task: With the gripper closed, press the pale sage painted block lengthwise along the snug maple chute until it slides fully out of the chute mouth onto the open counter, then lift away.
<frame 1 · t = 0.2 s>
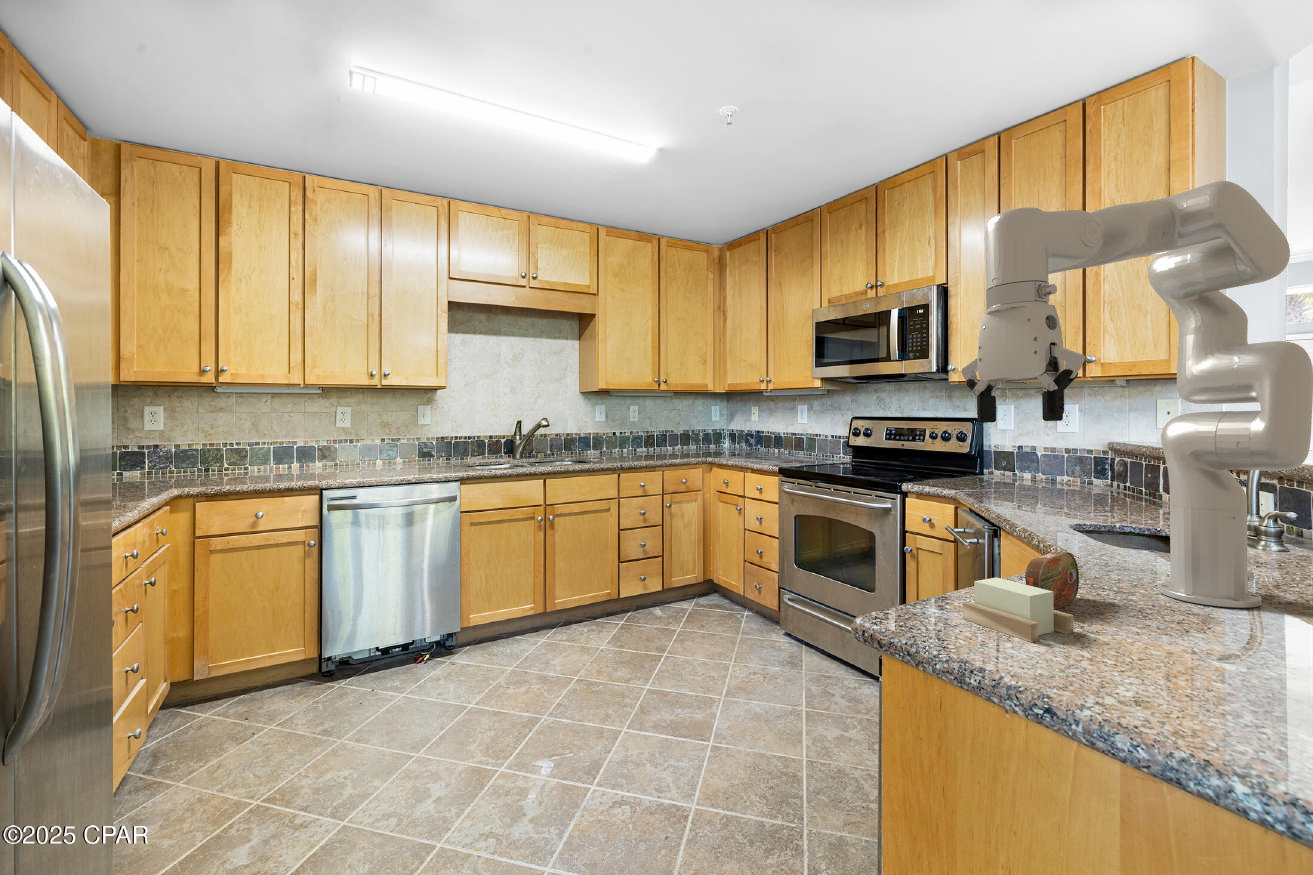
hand: (1018, 421, 82), 31 cm above the worktop, fingers open, 9 cm apart
block: (1012, 625, 88), on the worktop
tin: (1052, 605, 97), on the worktop
chute: (1016, 625, 87), on the worktop
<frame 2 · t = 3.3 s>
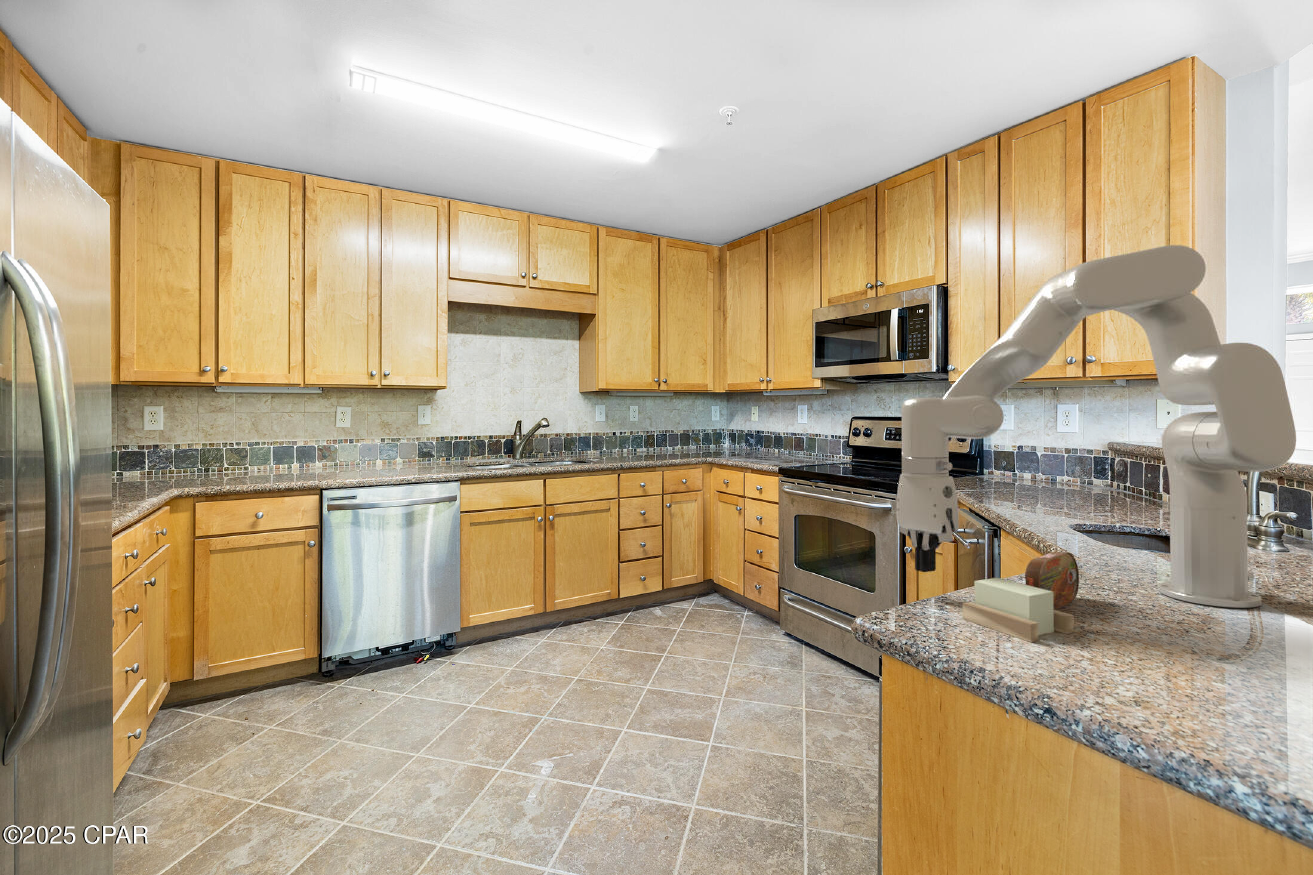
hand: (925, 570, 102), 5 cm above the worktop, fingers closed
nothing on the worktop moved.
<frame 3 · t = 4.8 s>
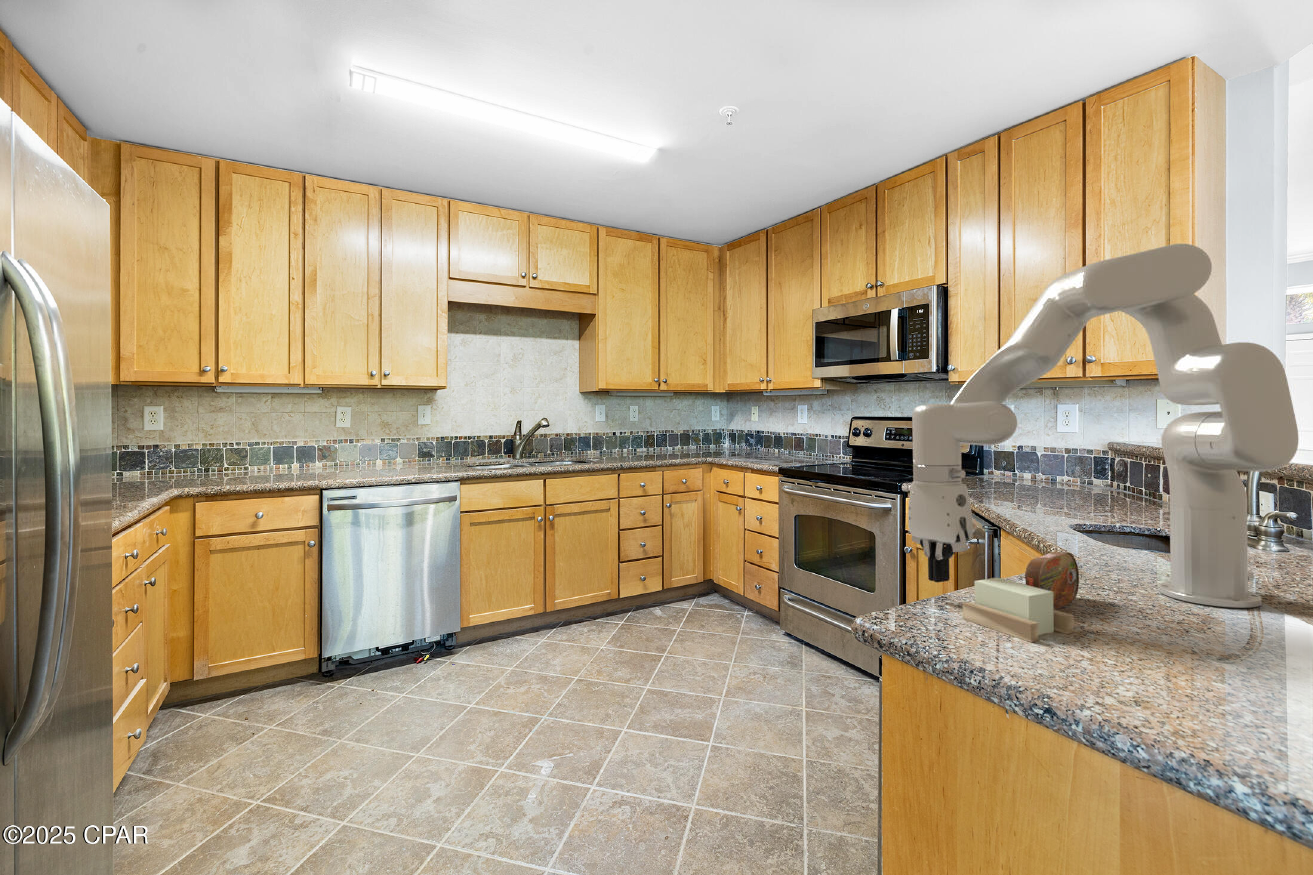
hand: (938, 580, 100), 4 cm above the worktop, fingers closed
nothing on the worktop moved.
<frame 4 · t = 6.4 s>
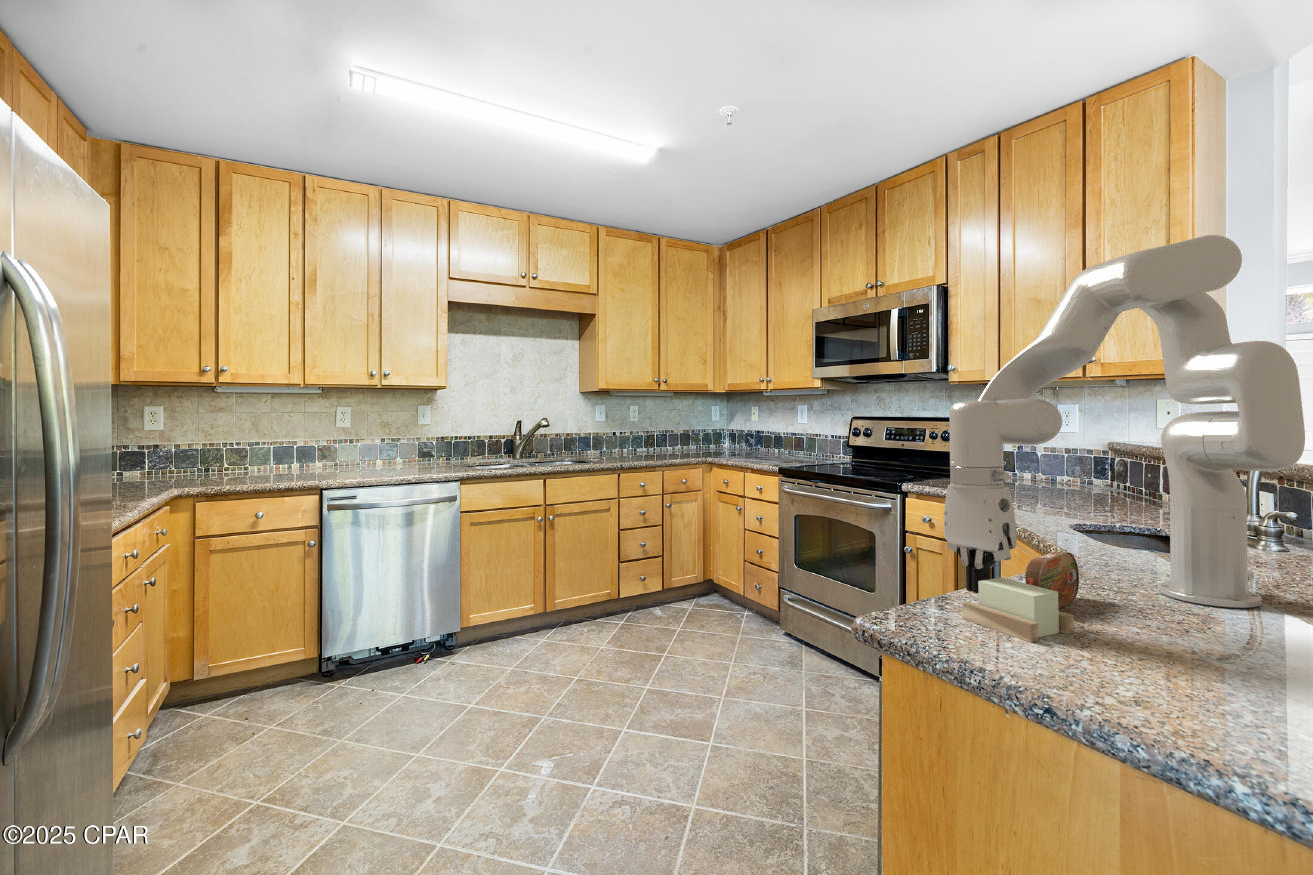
hand: (977, 590, 93), 4 cm above the worktop, fingers closed
block: (1017, 625, 87), on the worktop, touching gripper
everything else where it was.
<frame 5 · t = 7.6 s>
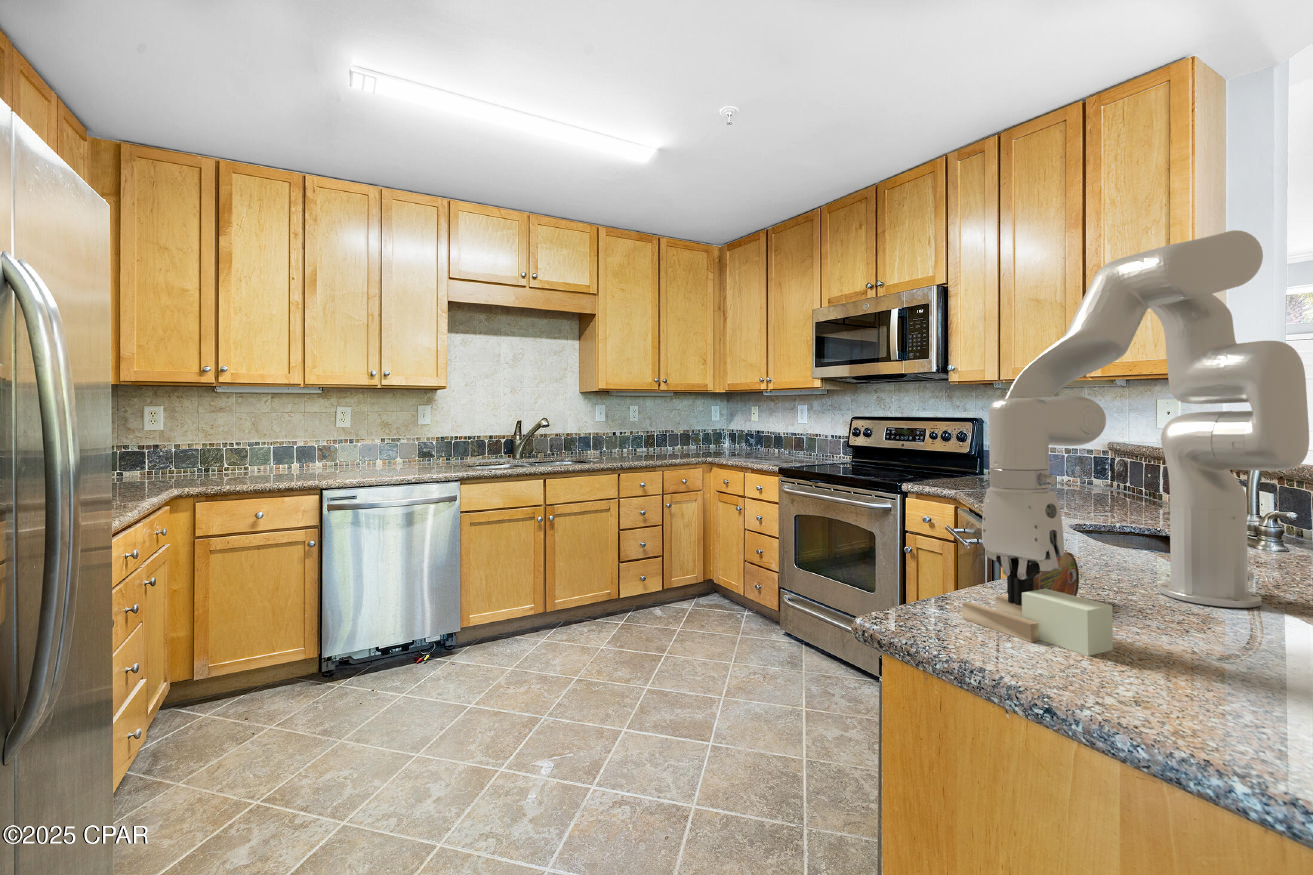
hand: (1020, 602, 86), 4 cm above the worktop, fingers closed
block: (1065, 641, 80), on the worktop, touching gripper
everything else where it was.
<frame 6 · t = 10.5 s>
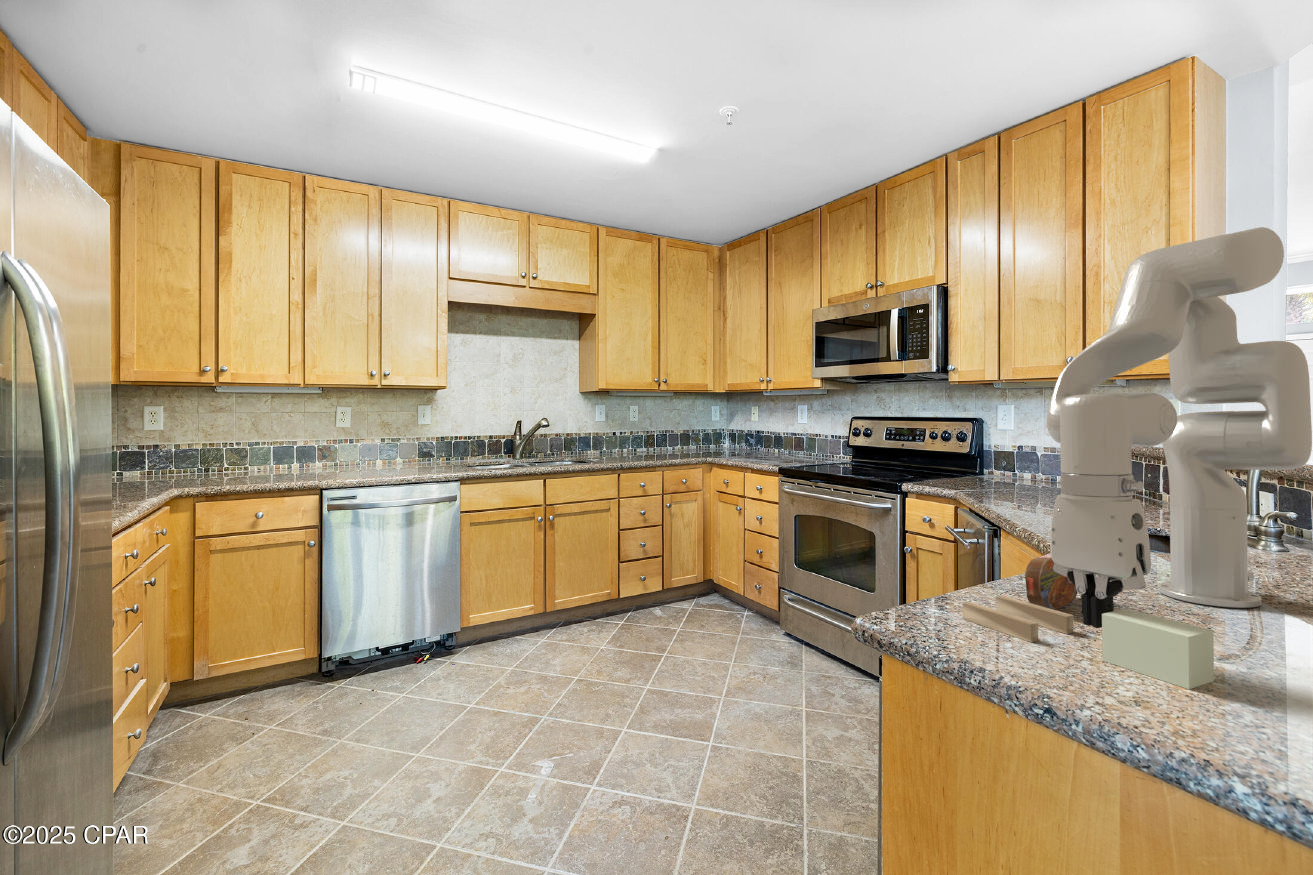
hand: (1097, 624, 76), 4 cm above the worktop, fingers closed
block: (1155, 670, 70), on the worktop, touching gripper
everything else where it was.
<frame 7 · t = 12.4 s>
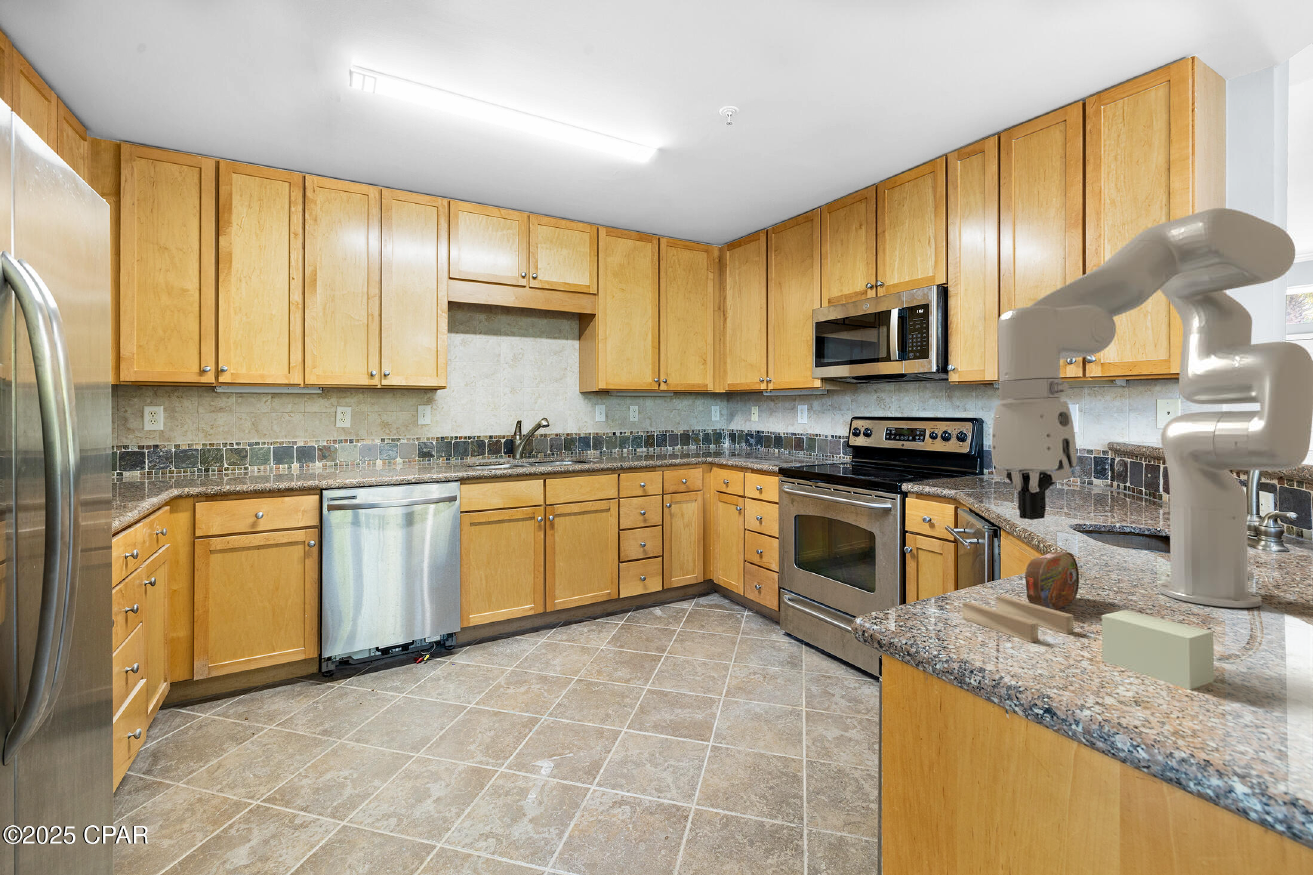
hand: (1032, 518, 85), 17 cm above the worktop, fingers closed
block: (1155, 671, 70), on the worktop
everything else where it was.
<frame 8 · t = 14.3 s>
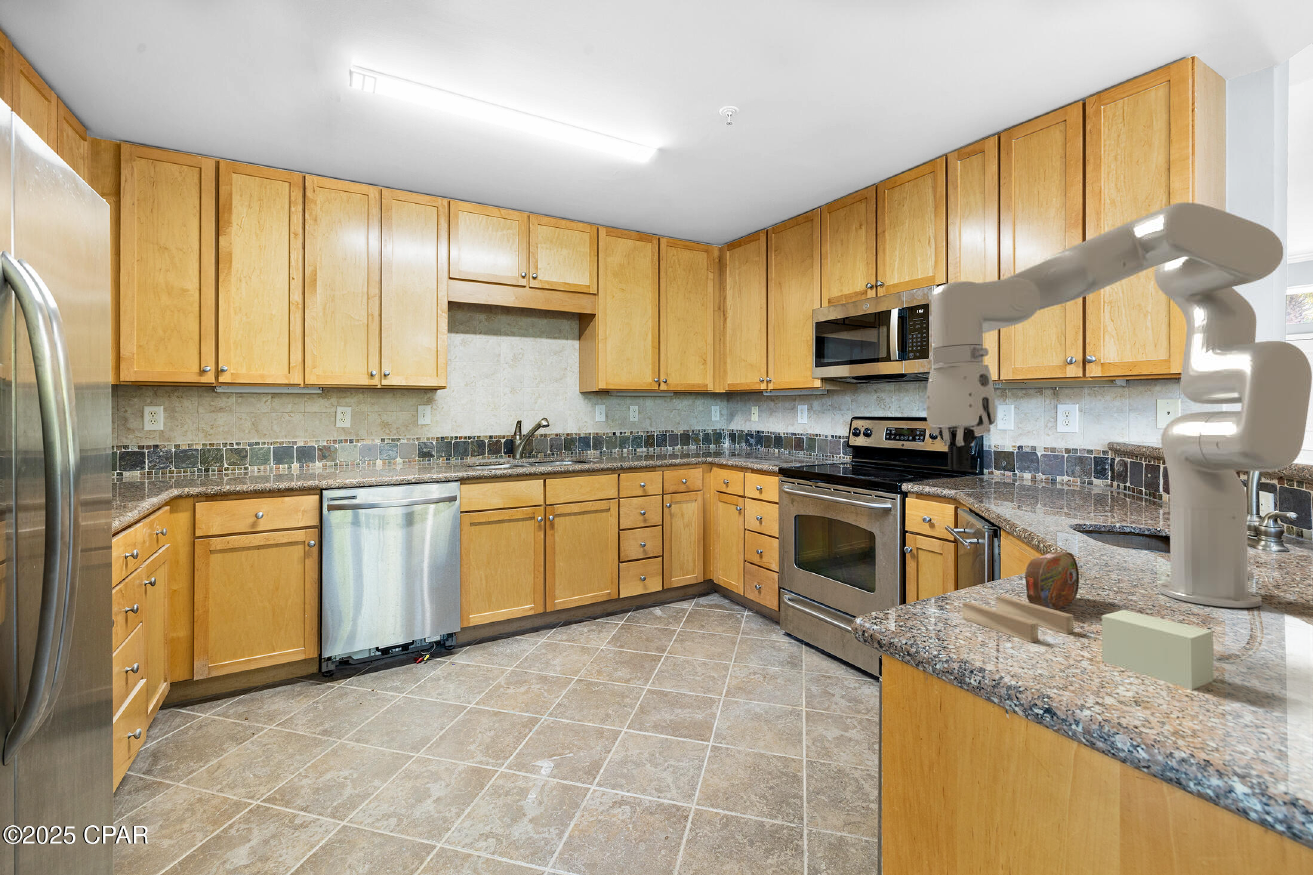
hand: (959, 469, 96), 23 cm above the worktop, fingers closed
nothing on the worktop moved.
at the end: block inside the target area (0.0 cm from its centre), on the worktop; block tilted 0°; block moved 18.5 cm from its start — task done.
